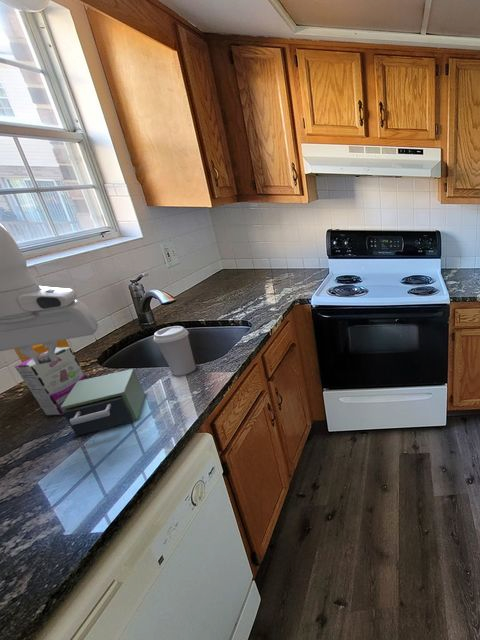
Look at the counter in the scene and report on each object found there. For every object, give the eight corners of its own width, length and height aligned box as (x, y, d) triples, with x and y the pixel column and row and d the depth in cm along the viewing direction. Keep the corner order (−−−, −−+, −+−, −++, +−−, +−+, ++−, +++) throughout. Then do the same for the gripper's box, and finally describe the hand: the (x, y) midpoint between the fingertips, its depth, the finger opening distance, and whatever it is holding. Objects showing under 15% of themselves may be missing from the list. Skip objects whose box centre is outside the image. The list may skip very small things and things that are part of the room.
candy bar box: (80, 393, 113) (54, 346, 106) (96, 393, 113) (71, 346, 106) (44, 416, 103) (12, 365, 96) (61, 415, 103) (31, 365, 96)
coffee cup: (188, 362, 130) (173, 323, 124) (207, 366, 127) (193, 326, 121) (161, 375, 122) (143, 335, 115) (181, 379, 119) (164, 338, 112)
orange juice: (36, 387, 117) (2, 330, 108) (67, 373, 125) (37, 319, 116) (55, 389, 116) (22, 332, 107) (85, 375, 123) (56, 320, 115)
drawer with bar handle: (129, 431, 94) (117, 408, 91) (70, 447, 89) (56, 423, 86) (140, 396, 109) (130, 376, 106) (90, 409, 104) (78, 387, 100)
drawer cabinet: (137, 419, 100) (124, 391, 96) (77, 436, 94) (60, 407, 91) (145, 394, 112) (133, 368, 108) (91, 407, 106) (77, 381, 102)
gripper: (-76, 317, 65) (-31, 382, 71) (75, 296, 75) (104, 355, 80) (-56, 307, 70) (-15, 369, 76) (84, 288, 79) (110, 345, 85)
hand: (47, 362), depth 78 cm, fingers closed
